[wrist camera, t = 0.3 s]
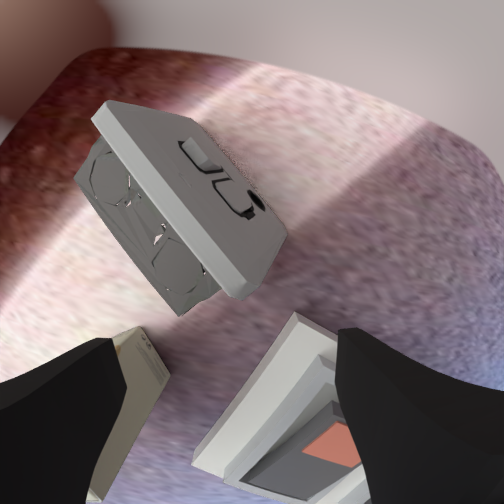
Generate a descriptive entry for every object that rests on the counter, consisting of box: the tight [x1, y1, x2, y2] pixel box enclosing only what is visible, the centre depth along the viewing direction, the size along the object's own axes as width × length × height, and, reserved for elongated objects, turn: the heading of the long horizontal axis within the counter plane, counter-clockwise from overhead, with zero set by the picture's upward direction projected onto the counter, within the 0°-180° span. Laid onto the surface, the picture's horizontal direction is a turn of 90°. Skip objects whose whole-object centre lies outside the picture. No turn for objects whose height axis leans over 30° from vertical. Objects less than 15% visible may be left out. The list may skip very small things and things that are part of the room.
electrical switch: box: [74, 100, 288, 317], centre depth 15 cm, size 9×5×9 cm, turn 39°
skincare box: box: [86, 326, 171, 502], centre depth 14 cm, size 6×4×12 cm
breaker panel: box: [191, 311, 371, 504], centre depth 19 cm, size 14×23×4 cm, turn 59°
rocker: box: [248, 400, 362, 500], centre depth 16 cm, size 9×5×1 cm, turn 149°
